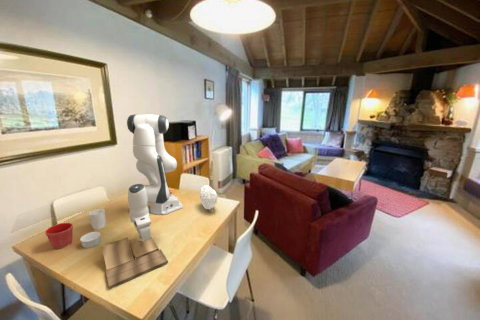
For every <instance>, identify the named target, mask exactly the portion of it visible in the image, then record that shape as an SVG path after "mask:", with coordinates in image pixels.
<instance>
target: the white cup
mask: <svg viewBox="0 0 480 320" xmlns="http://www.w3.org/2000/svg"><path fill="white" fill-rule="evenodd" d="M88 218H89V221H90V225H91V227H92V229H93V230H101V229H103V228H105V227H106V224H107V223H106V212H105V209H104V208H97V209H94V210H90V211H89V213H88Z"/></svg>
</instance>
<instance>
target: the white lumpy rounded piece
mask: <svg viewBox="0 0 480 320" xmlns="http://www.w3.org/2000/svg"><path fill="white" fill-rule="evenodd" d="M199 199H200V202H201V205H202V206H203V208H204V209H205V210H207V209H209V211H210V210H211V212H212V211H213V210H214V209H213V208H214V207H215V206H216V204H217V202H218V193H217V192H216V190H215V189H213V188H212V187H211V186H210V185H208V184H204V185H203V186H202V187H201V189H200V191H199ZM213 212H214V211H213Z"/></svg>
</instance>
